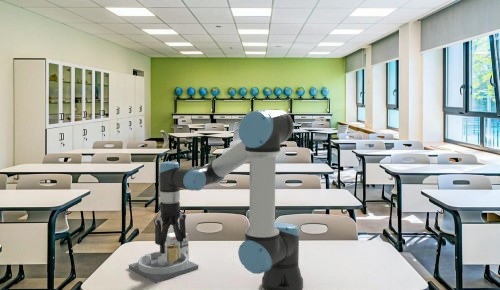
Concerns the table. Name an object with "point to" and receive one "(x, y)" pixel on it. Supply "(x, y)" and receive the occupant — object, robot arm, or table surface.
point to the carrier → (161, 266)
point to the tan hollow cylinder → (172, 253)
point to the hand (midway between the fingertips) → (171, 258)
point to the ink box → (172, 238)
